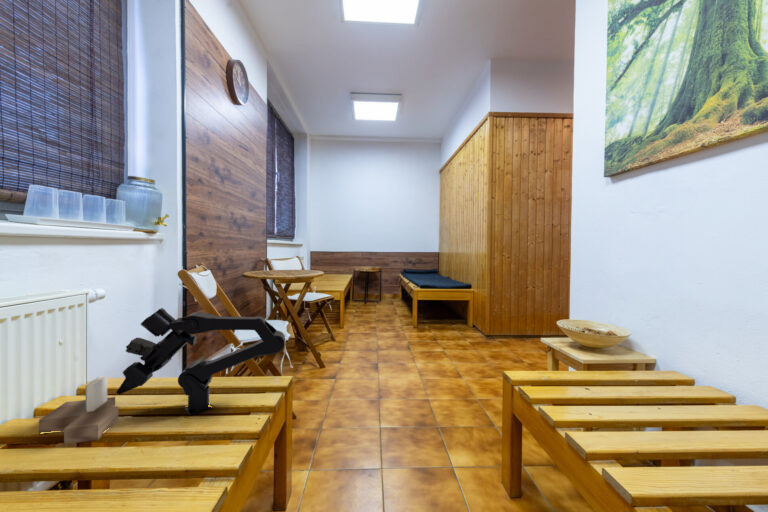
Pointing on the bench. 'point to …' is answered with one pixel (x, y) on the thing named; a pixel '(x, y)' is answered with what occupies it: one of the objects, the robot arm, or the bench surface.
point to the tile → (96, 393)
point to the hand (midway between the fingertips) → (126, 386)
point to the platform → (80, 420)
